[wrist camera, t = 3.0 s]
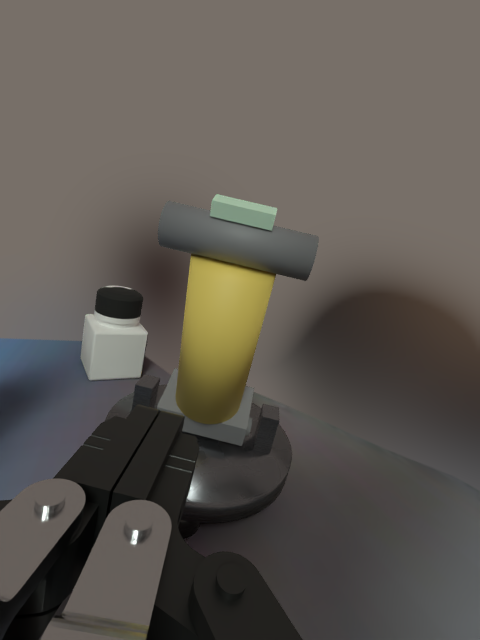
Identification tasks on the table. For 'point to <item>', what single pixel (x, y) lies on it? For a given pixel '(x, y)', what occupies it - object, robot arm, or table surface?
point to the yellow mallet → (225, 306)
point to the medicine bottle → (114, 336)
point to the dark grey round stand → (225, 464)
